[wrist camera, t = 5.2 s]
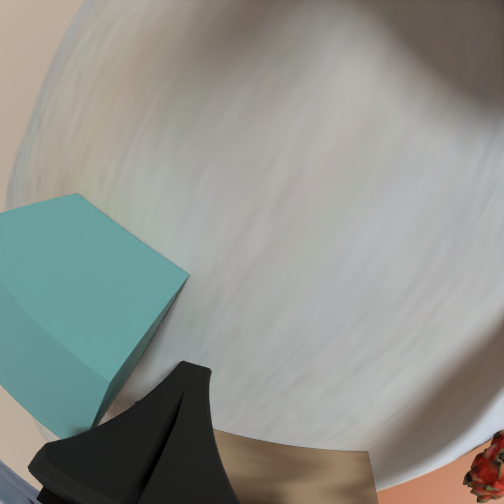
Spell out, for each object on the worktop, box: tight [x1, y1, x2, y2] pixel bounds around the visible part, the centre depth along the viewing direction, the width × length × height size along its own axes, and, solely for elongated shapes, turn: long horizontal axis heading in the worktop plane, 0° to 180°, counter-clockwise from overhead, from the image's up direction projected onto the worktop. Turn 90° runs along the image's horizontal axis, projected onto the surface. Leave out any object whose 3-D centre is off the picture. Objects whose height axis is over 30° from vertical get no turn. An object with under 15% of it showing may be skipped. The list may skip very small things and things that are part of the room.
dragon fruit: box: [463, 430, 504, 503], centre depth 11 cm, size 8×8×12 cm
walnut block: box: [135, 402, 378, 504], centre depth 11 cm, size 15×2×6 cm, turn 73°
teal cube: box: [0, 193, 189, 439], centre depth 8 cm, size 6×6×6 cm
